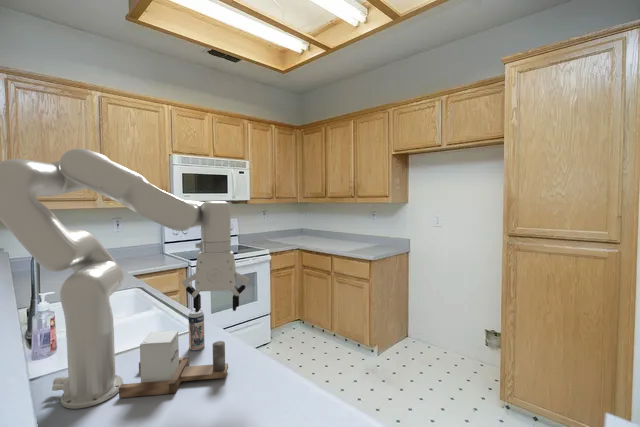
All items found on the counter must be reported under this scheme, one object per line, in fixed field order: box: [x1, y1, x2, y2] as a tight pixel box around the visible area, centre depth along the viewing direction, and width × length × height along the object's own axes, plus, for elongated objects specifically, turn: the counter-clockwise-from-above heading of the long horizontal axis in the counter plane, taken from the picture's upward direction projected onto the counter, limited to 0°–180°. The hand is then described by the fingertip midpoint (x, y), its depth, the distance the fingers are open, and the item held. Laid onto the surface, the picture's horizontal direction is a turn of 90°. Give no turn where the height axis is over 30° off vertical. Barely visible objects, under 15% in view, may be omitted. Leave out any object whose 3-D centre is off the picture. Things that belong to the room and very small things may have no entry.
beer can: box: [187, 309, 206, 351], centre depth 103 cm, size 5×5×12 cm
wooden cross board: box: [118, 340, 229, 399], centre depth 85 cm, size 24×13×9 cm, turn 98°
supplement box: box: [139, 330, 180, 383], centre depth 83 cm, size 7×7×13 cm
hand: (216, 309), depth 86 cm, fingers open, 9 cm apart
